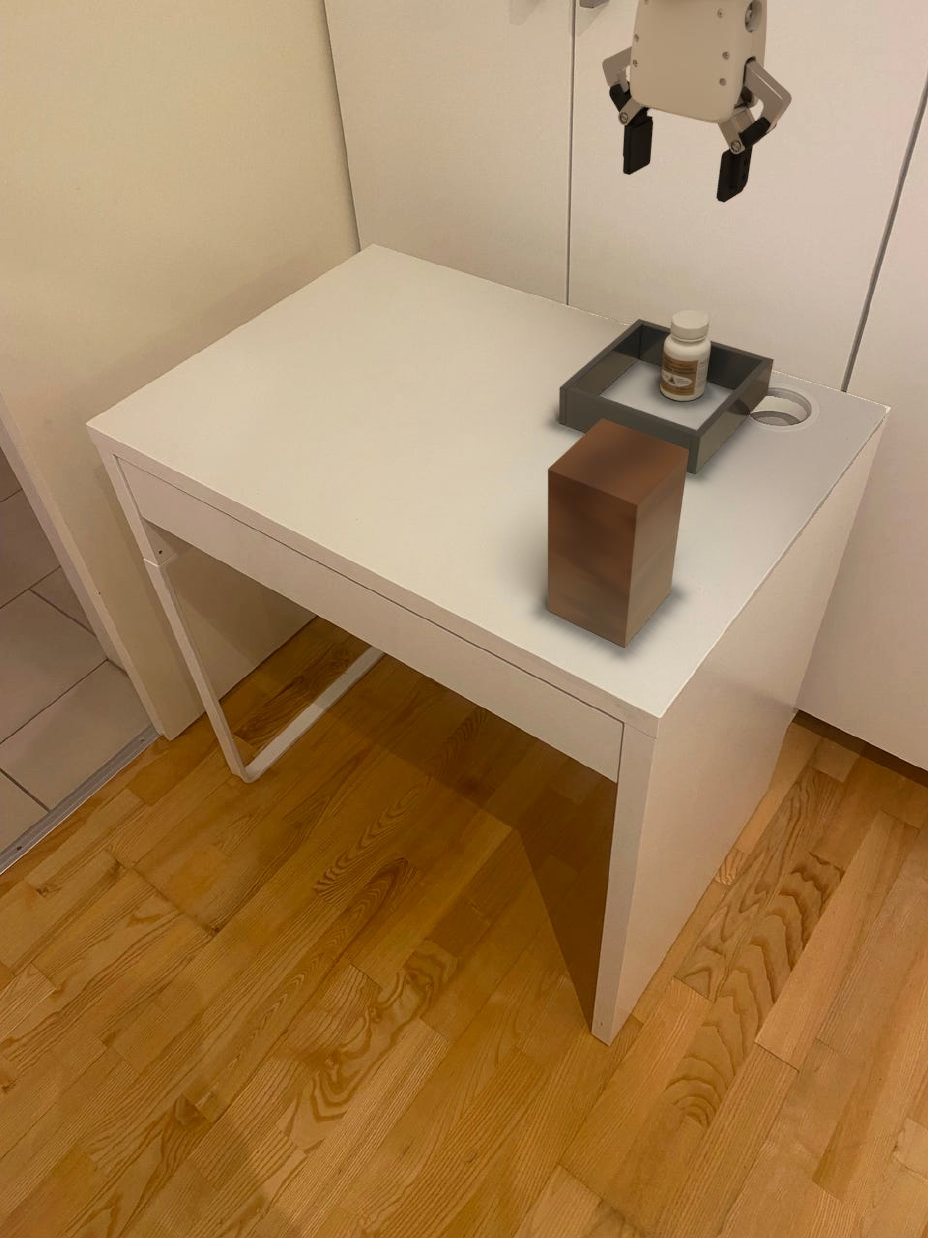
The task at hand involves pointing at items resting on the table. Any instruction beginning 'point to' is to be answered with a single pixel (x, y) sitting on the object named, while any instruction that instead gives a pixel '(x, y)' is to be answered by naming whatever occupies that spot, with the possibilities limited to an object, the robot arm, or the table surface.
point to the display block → (613, 529)
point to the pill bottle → (686, 356)
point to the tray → (588, 408)
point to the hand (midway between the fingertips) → (681, 182)
